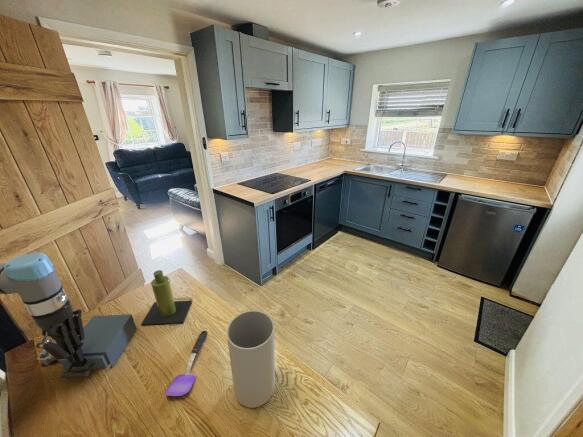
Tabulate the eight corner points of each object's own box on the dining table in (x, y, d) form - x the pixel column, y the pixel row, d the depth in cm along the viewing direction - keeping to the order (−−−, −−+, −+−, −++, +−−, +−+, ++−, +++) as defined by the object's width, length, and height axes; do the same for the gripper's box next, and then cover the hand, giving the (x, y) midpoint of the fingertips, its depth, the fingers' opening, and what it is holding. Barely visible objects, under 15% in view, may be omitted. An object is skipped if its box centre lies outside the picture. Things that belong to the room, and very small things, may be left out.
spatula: (197, 331, 92) (196, 327, 91) (214, 332, 92) (213, 327, 91) (164, 400, 70) (163, 395, 69) (187, 401, 70) (186, 396, 69)
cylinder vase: (258, 359, 82) (255, 304, 72) (283, 387, 74) (283, 328, 64) (226, 385, 74) (218, 327, 64) (249, 419, 66) (244, 359, 55)
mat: (141, 326, 93) (140, 324, 93) (154, 303, 104) (154, 302, 104) (183, 323, 95) (182, 322, 94) (192, 302, 106) (191, 300, 105)
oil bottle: (157, 317, 96) (145, 277, 88) (163, 306, 102) (153, 267, 94) (172, 316, 97) (163, 277, 88) (178, 305, 102) (169, 267, 94)
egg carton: (87, 339, 87) (83, 331, 86) (78, 358, 81) (74, 349, 79) (50, 348, 84) (45, 340, 82) (38, 367, 78) (33, 359, 76)
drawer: (98, 383, 73) (92, 371, 70) (55, 386, 72) (47, 374, 69) (131, 332, 90) (127, 320, 87) (96, 333, 89) (91, 322, 86)
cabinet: (112, 367, 78) (105, 352, 75) (68, 370, 77) (59, 354, 74) (136, 328, 92) (131, 314, 89) (99, 330, 91) (93, 315, 88)
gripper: (44, 325, 58) (77, 385, 68) (82, 289, 70) (106, 345, 80) (11, 327, 58) (49, 387, 67) (55, 290, 70) (82, 346, 79)
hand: (80, 364), depth 73 cm, fingers closed
